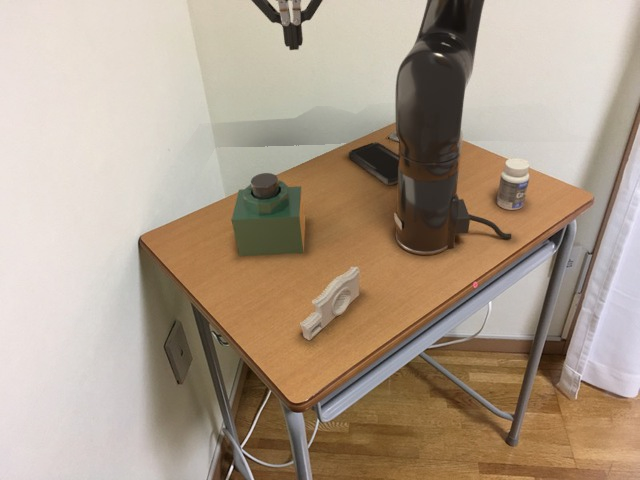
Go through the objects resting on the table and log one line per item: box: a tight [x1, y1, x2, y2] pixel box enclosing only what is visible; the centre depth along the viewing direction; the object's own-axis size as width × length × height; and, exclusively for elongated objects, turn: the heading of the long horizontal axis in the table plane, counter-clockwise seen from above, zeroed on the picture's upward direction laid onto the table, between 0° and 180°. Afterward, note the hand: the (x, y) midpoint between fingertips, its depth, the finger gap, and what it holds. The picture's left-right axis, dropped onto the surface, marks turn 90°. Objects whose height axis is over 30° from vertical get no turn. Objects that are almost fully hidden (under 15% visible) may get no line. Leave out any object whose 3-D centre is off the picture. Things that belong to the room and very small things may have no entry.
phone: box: [348, 142, 399, 186], centre depth 108 cm, size 8×1×15 cm
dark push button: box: [250, 172, 279, 200], centre depth 85 cm, size 4×4×2 cm
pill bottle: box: [496, 157, 531, 211], centre depth 92 cm, size 5×5×8 cm
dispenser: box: [231, 179, 306, 257], centre depth 88 cm, size 11×9×10 cm
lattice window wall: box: [299, 266, 361, 341], centre depth 74 cm, size 12×2×6 cm, turn 139°
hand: (294, 48), depth 83 cm, fingers closed
